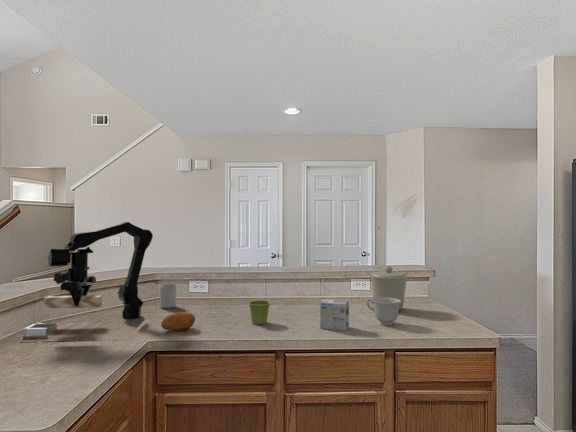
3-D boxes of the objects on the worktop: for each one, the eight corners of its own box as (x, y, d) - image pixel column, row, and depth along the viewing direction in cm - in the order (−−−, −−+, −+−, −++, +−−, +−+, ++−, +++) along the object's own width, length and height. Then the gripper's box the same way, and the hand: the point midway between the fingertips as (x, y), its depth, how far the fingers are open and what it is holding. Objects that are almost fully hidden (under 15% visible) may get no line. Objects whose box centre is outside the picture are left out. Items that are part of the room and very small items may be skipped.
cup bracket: (56, 330, 145) (56, 322, 145) (45, 337, 137) (46, 328, 137) (34, 331, 144) (34, 323, 144) (22, 337, 136) (22, 329, 136)
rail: (101, 305, 155) (102, 295, 155) (98, 307, 151) (98, 297, 151) (48, 306, 153) (49, 296, 153) (43, 308, 149) (43, 298, 149)
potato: (196, 331, 151) (196, 312, 151) (161, 334, 146) (162, 315, 146) (193, 326, 157) (193, 308, 157) (160, 329, 152) (160, 311, 153)
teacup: (372, 317, 173) (372, 295, 173) (405, 323, 164) (405, 299, 165) (360, 323, 163) (360, 299, 163) (395, 329, 155) (395, 304, 155)
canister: (412, 308, 193) (412, 265, 193) (401, 315, 178) (401, 269, 178) (377, 303, 203) (377, 263, 203) (364, 310, 187) (364, 266, 188)
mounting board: (104, 325, 158) (104, 321, 158) (83, 341, 137) (83, 336, 137) (50, 326, 156) (50, 322, 156) (19, 342, 135) (19, 338, 135)
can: (171, 309, 188) (171, 284, 188) (157, 308, 189) (157, 283, 189) (178, 306, 195) (178, 282, 195) (164, 305, 196) (165, 281, 197)
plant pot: (274, 321, 165) (274, 301, 166) (263, 327, 157) (264, 305, 157) (255, 319, 169) (255, 299, 169) (244, 324, 161) (244, 303, 161)
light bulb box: (349, 327, 158) (349, 300, 158) (346, 331, 152) (346, 303, 152) (323, 324, 161) (323, 298, 162) (319, 328, 155) (319, 301, 155)
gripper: (68, 262, 161) (68, 300, 161) (45, 267, 142) (44, 310, 142) (96, 262, 162) (96, 299, 162) (77, 267, 144) (76, 309, 143)
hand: (78, 304), depth 152 cm, fingers closed on rail, 4 cm apart
